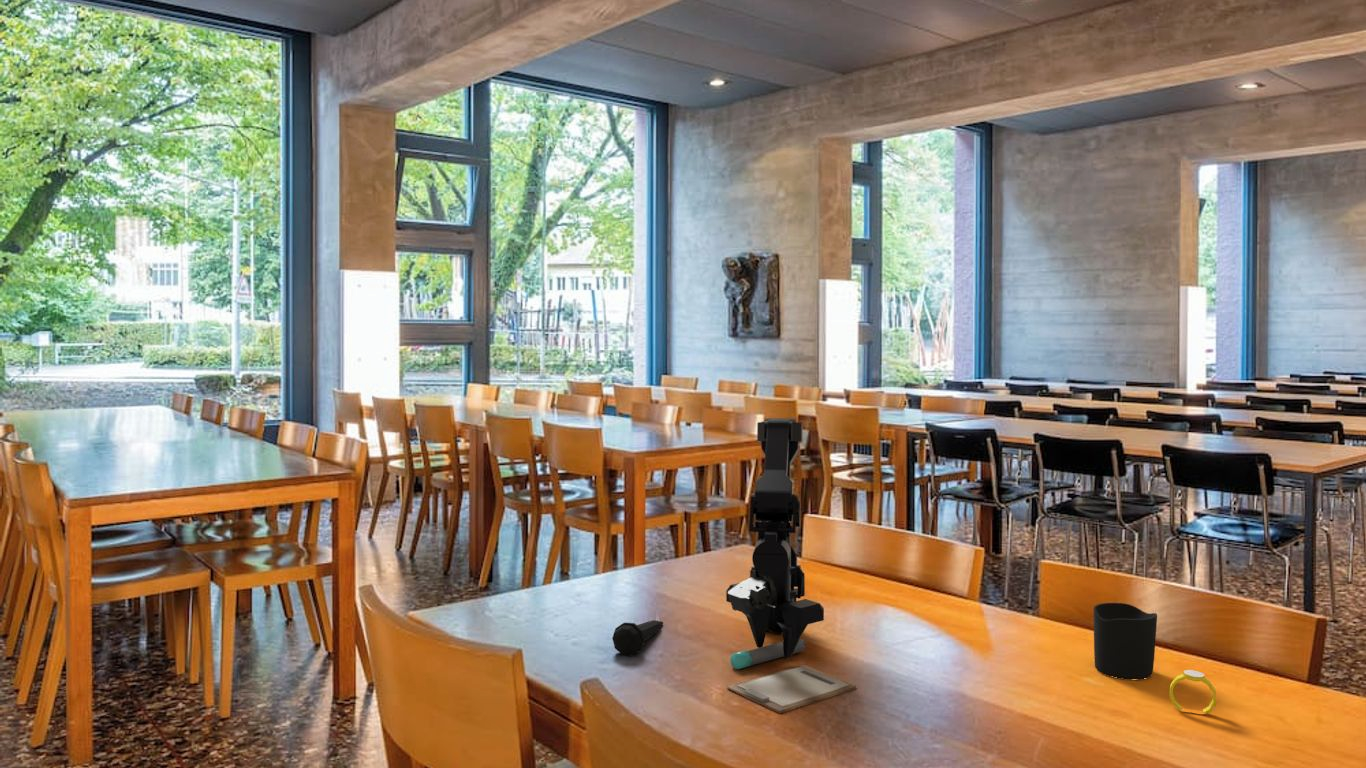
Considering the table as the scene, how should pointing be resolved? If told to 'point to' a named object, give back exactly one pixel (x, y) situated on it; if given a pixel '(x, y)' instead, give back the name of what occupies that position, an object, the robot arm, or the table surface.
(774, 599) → the robot arm
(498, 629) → the table surface
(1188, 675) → the watch
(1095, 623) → the pen holder
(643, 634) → the microphone
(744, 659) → the marker
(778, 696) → the clipboard
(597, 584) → the table surface
